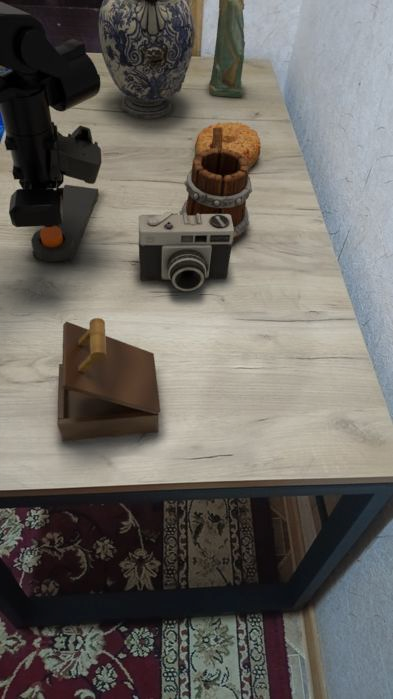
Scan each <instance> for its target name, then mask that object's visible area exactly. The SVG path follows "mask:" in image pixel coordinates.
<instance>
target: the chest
mask: <svg viewBox="0 0 393 699" xmlns="http://www.w3.org/2000/svg"><path fill="white" fill-rule="evenodd" d="M159 414H160V413H158V414H153V413H149V412H146V411H142V410H139V409H135V408H131V407H128V406H124V405H121V404H117V403H113V402H110V401H106V400H103V399H99V398H95V397H92V396H88V395H85V394H81V393H77V392H74V391H70V390H67V389H63V388H62V363H59V364H58V388H57V419H56V420H57V422H56V423H57V424H56V425H57V427H58V430H59V431H58V432H59V434H60V437H61V441H62V442H70V441H81V440H90V439H100V438H102V439H103V438H112V437H121V436H122V437H123V436H132V435H142V434H153V433H154V434H155V433H159V424H160V423H159V420H160V419H159V418H160V415H159Z"/></svg>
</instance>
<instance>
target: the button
mask: <svg viewBox="0 0 393 699" xmlns="http://www.w3.org/2000/svg"><path fill="white" fill-rule="evenodd" d="M42 228H43V229H42ZM42 228H41V229H42V230H41V231H40V237H41V241H42V244H43V245H44V246H45V247H50V248H53V247H58V246H60V245H61V244H62V243H63V236H62V231H61V229H60V228H59V227H57V226H53V227H45V226H43V227H42Z"/></svg>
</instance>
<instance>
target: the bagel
mask: <svg viewBox="0 0 393 699" xmlns="http://www.w3.org/2000/svg"><path fill="white" fill-rule="evenodd" d="M214 127H221V128H222V149H229V150H232V151H235V152H237V153H239V154H240V155H242V158H245V159H246V160H247V161H248V164H249V169H250V168H251V167H253V165H255V163H256V162H257V161H258V159H259V156H260V155H261V147H262V146H261V138H260V137H259V135H258V132H257V131H256V130H255V129H252V128H251V127H250V126H248V125H246V124H244V123H243V122H239V121H238V122H237V121H236V122H231V121H230V122H229V121H227V122H223V123H221V122H218V123H216V124H211V125H208V126H207V127H204V129H202V130H201V131H200V132H199V133H198V135H196V136H195V137H196V141H195V144H194V146H195V153H196V155H197V154H199V153H200V152H202V151H204V150H207V149H210V144H211V143H212V140H213V128H214Z"/></svg>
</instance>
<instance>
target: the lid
mask: <svg viewBox="0 0 393 699" xmlns="http://www.w3.org/2000/svg"><path fill="white" fill-rule="evenodd" d="M155 360H156V359H155V353H154V352H152V351H149V350H145V349H143V348H141V347H137V346H135V345H132V344H129V343H127V342H124V341H121V340H119V339H115V338H113V337H110V336H107V335H106V322H105V320H104V319H103V318H100V317H95V318H92V319H91V320H90V321H89V328H85V327H83V326H80V325H77V324H75V323H71V322H69V321H65V322H64V323H63V324H62V363H61V364H62V388H63V389H67V390H70V391H74V392H77V393H81V394H85V395H88V396H92V397H95V398H99V399H103V400H106V401H110V402H113V403H117V404H121V405H124V406H128V407H131V408H135V409H139V410H142V411H146V412H149V413H153V414H158V413H159V414H160V413H161V403H160V396H159V388H158V379H157V369H156V361H155Z"/></svg>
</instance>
